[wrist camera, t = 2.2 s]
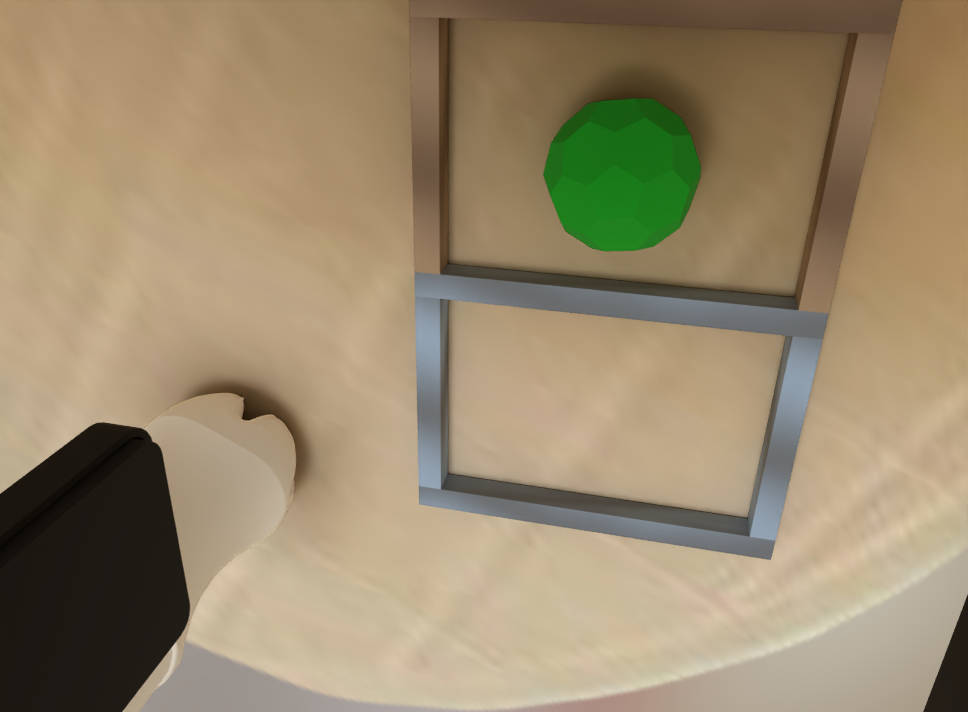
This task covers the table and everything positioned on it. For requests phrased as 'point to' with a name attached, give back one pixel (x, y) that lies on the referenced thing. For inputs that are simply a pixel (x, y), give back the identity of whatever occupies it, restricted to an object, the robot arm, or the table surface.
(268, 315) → the table surface
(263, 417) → the water bottle
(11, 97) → the table surface
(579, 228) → the polyhedron
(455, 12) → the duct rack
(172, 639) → the robot arm
